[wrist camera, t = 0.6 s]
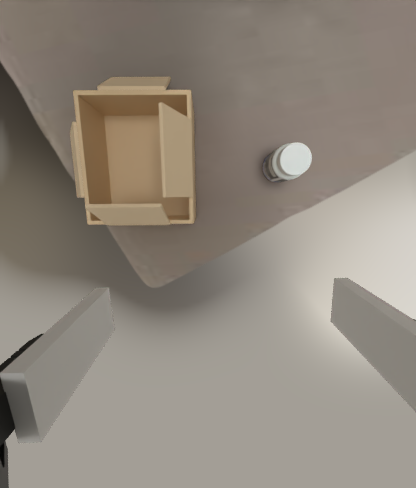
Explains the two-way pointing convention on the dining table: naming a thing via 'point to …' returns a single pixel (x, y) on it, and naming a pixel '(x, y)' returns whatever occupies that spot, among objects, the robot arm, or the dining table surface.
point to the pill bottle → (287, 162)
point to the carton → (128, 149)
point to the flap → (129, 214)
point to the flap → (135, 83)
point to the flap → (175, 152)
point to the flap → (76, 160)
